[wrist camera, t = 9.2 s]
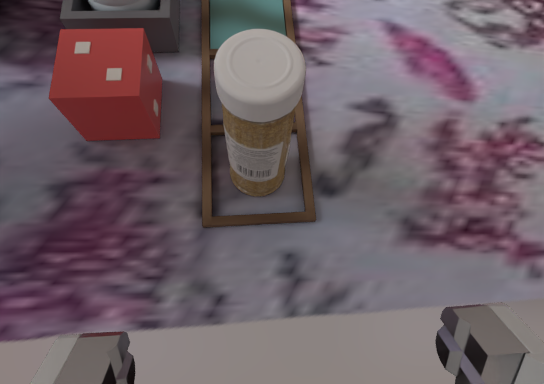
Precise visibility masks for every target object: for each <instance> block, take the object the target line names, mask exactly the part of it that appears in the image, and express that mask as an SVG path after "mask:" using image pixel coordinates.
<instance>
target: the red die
mask: <svg viewBox="0 0 544 384" xmlns="http://www.w3.org/2000/svg"><path fill="white" fill-rule="evenodd" d="M161 98H162V77H161V75H160V72H159V69H158V66H157V64H156V61H155V58H154V55H153V53H152V50H151V47H150V44H149V41H148V39H147V36H146V33H145V30H144V28H119V29H60V34H59V40H58V46H57V52H56V58H55V64H54V70H53V76H52V82H51V87H50V93H49V99H50V100H51V101H52V103H53V104H54V105H55V106H56V107H57V108H58V109H59V110H60V112H61V113H62V114H63V115H64V116H65V117H66V118H67V119H68V121H69V122H70V123H71V124H72V125H73V126H74V127H75V128H76V130H77V131H78V132H79V133H80V134H81V135H82V136H83V137H84V139H85V140H86V141H97V140H125V139H153V138H160V122H161Z"/></svg>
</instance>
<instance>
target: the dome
mask: <svg viewBox="0 0 544 384" xmlns="http://www.w3.org/2000/svg"><path fill="white" fill-rule="evenodd" d="M88 2H89V4H90V6H91V8H92V10H93V11H140V10H158V8H159V7H160V2H161V0H88Z"/></svg>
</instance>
